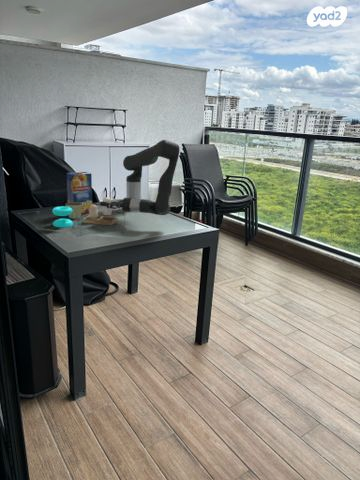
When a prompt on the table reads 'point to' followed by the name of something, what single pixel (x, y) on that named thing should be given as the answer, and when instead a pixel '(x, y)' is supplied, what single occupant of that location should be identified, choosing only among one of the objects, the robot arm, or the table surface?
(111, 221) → the egg holder
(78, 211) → the flower pot
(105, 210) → the cream egg
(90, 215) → the brown egg
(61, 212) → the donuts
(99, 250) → the table surface
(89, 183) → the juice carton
